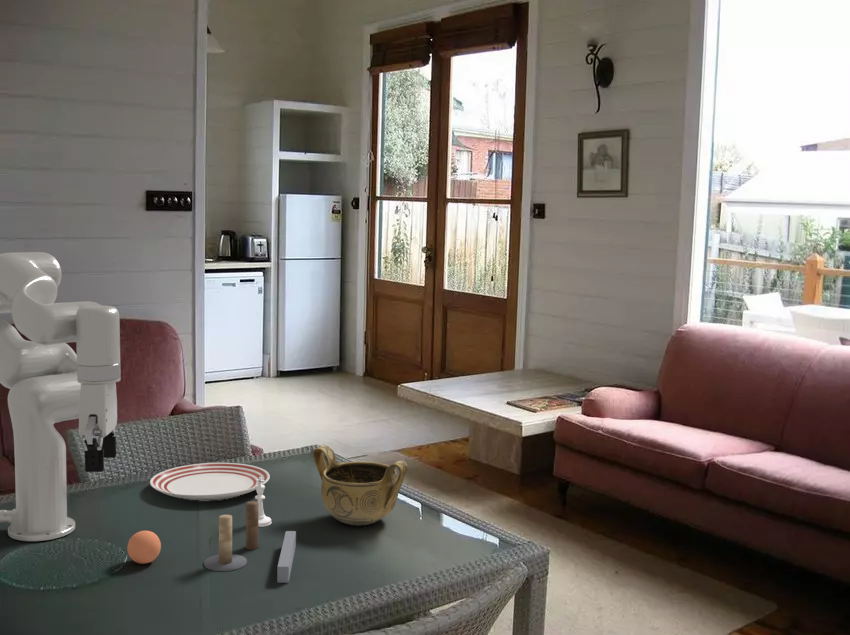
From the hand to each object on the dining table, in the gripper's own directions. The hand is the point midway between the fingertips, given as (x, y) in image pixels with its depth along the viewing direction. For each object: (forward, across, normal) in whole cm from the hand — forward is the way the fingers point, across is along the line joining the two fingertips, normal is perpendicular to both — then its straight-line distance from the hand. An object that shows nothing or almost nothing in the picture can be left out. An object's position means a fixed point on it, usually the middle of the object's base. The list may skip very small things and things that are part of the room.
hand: (101, 464), depth 172 cm
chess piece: (+19, -20, +28) cm, 39 cm away
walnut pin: (+19, -6, +27) cm, 33 cm away
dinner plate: (+18, -44, +14) cm, 49 cm away
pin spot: (+19, +2, +23) cm, 30 cm away
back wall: (+19, +2, +34) cm, 39 cm away
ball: (+16, +1, +8) cm, 17 cm away
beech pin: (+19, +2, +23) cm, 30 cm away
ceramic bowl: (+19, -21, +49) cm, 56 cm away
